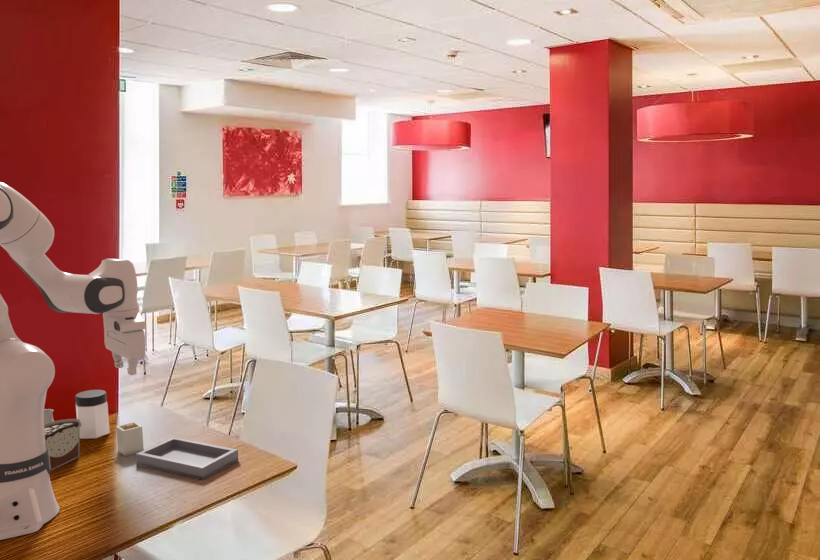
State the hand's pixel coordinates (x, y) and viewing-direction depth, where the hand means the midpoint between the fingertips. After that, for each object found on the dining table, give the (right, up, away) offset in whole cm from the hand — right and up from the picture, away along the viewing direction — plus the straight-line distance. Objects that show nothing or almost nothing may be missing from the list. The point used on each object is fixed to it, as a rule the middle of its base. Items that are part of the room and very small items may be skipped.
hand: (125, 370), depth 184 cm
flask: (-24, -22, +8) cm, 34 cm away
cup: (0, -22, +3) cm, 22 cm away
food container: (-17, -23, -4) cm, 29 cm away
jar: (-16, -21, +17) cm, 31 cm away
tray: (+18, -23, -5) cm, 30 cm away
